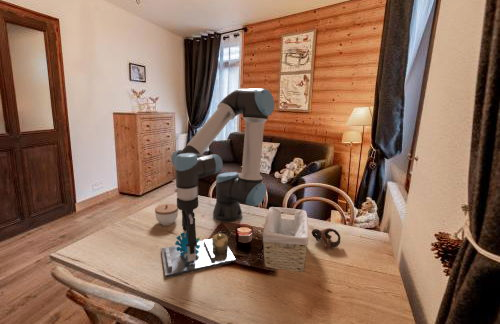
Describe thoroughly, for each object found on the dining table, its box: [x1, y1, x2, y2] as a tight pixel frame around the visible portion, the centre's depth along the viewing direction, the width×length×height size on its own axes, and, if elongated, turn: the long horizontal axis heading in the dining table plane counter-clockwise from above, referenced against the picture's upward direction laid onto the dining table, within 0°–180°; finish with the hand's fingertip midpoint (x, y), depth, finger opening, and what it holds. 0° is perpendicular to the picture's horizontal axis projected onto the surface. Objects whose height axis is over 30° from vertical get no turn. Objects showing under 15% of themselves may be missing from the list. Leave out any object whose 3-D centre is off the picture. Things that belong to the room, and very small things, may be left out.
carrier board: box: [160, 232, 236, 279], centre depth 95 cm, size 25×17×7 cm
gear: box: [174, 232, 201, 258], centre depth 94 cm, size 11×6×10 cm
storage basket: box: [262, 206, 309, 273], centre depth 97 cm, size 24×16×15 cm
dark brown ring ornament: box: [310, 227, 341, 251], centre depth 106 cm, size 12×10×8 cm
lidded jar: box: [154, 203, 179, 226], centre depth 121 cm, size 11×11×9 cm
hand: (189, 252), depth 94 cm, fingers closed on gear, 9 cm apart
